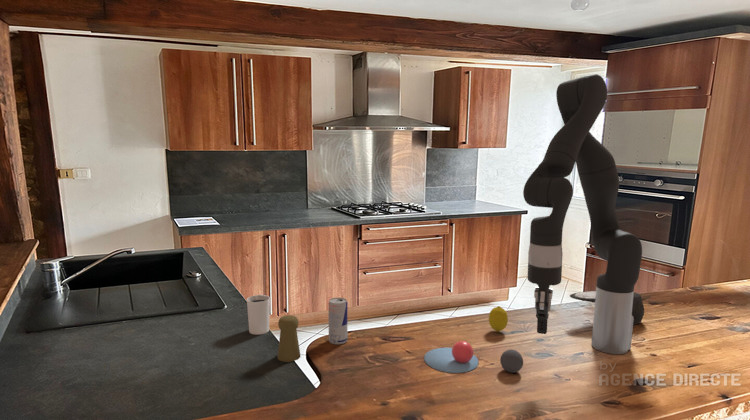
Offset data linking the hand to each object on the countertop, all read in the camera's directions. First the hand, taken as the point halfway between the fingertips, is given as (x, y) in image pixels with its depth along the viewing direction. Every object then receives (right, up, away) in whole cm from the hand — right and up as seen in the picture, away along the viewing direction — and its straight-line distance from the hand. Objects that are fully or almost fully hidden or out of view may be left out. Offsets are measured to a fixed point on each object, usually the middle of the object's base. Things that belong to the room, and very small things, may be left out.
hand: (541, 332), depth 114 cm
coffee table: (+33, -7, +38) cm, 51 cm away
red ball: (-17, -7, +9) cm, 21 cm away
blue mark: (-20, -10, +11) cm, 25 cm away
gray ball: (-6, -8, +5) cm, 11 cm away
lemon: (-3, -8, +29) cm, 30 cm away
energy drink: (-51, -8, +22) cm, 56 cm away
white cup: (-75, -7, +28) cm, 80 cm away
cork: (-63, -10, +12) cm, 64 cm away
